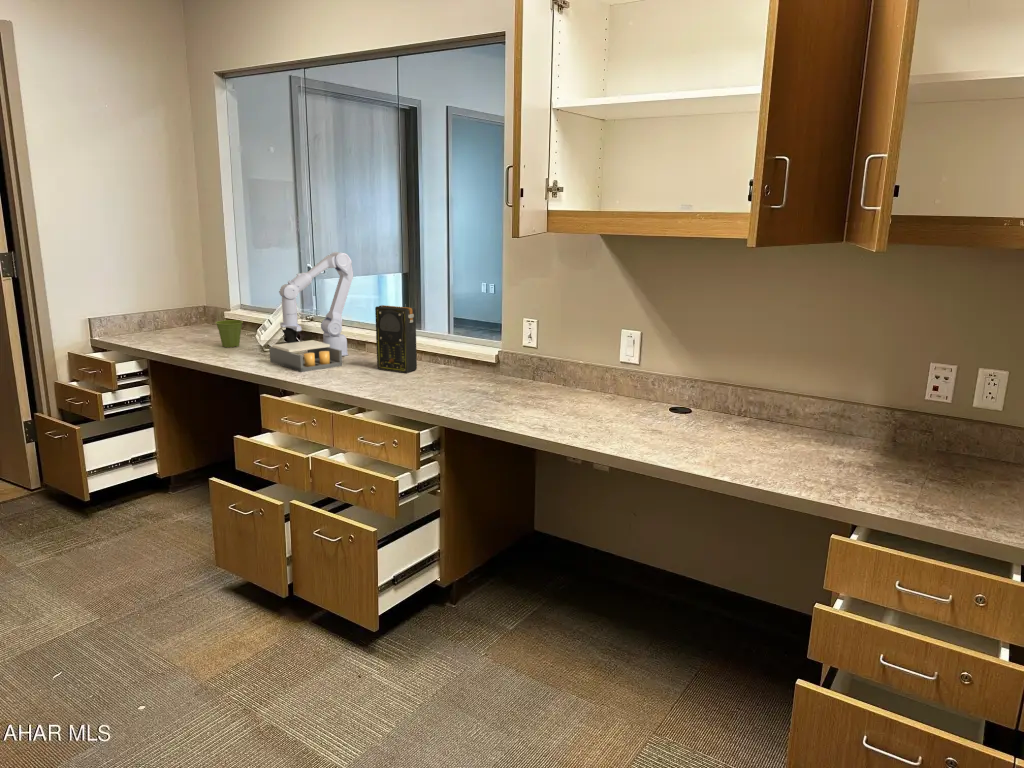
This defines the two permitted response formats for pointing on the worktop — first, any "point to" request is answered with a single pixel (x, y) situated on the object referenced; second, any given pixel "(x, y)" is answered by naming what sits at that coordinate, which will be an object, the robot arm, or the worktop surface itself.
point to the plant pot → (229, 332)
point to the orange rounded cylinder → (309, 359)
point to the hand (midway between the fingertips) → (291, 346)
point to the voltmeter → (396, 338)
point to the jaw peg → (324, 357)
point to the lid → (300, 346)
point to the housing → (298, 363)
